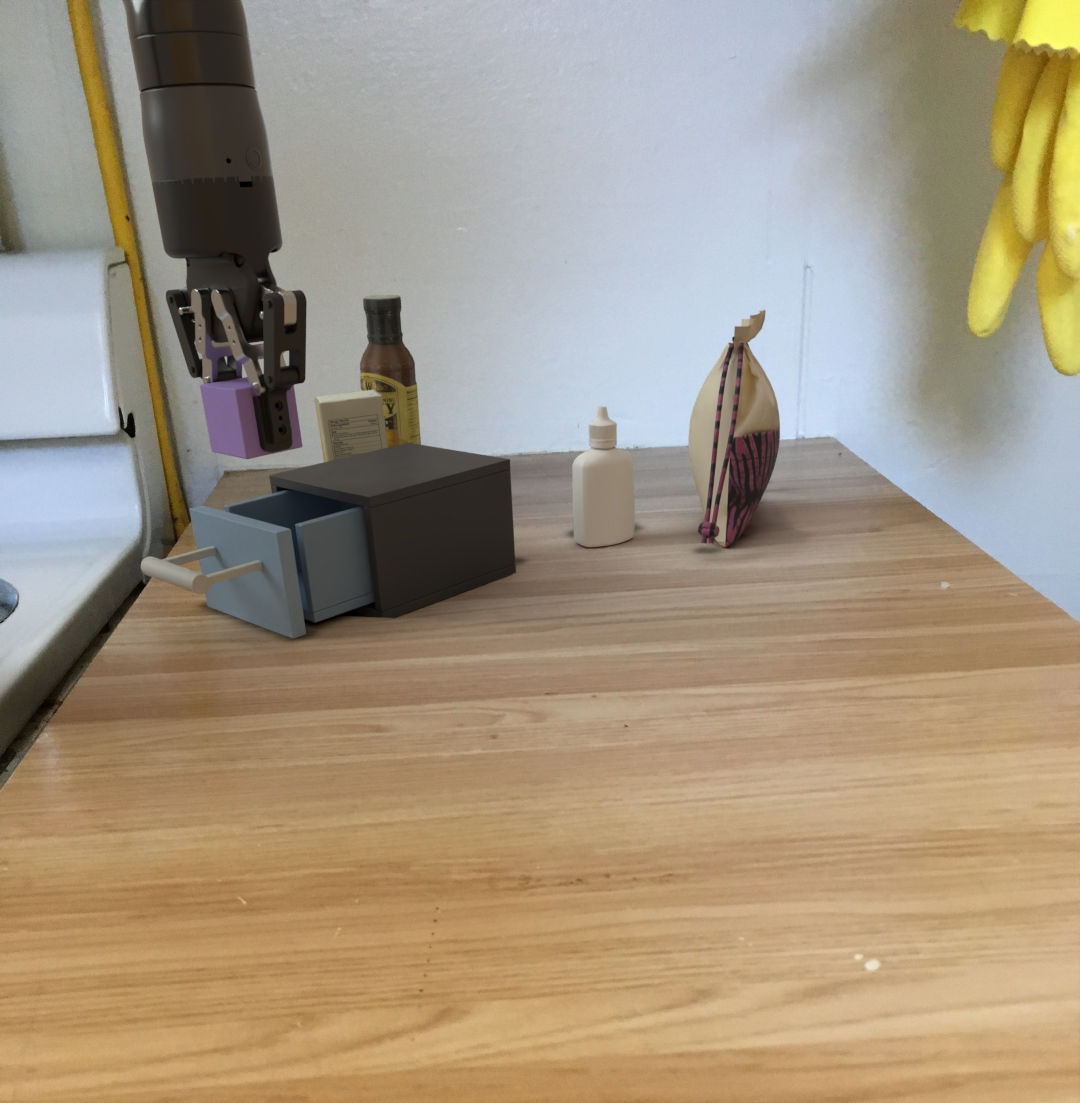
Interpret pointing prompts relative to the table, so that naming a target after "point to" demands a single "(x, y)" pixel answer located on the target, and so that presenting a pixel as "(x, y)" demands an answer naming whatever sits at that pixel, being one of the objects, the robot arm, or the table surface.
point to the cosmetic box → (350, 424)
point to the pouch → (733, 437)
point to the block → (239, 419)
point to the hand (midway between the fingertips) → (256, 444)
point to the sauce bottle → (390, 369)
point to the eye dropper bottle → (603, 488)
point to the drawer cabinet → (421, 519)
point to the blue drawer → (276, 560)
